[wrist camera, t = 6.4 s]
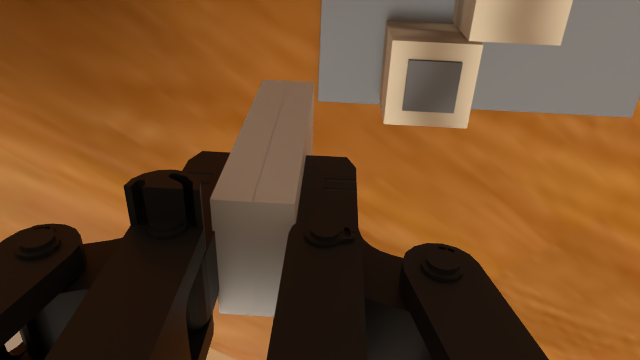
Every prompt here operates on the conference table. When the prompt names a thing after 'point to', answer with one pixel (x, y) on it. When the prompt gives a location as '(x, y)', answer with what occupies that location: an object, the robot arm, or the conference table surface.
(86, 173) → the conference table surface
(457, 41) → the marked block
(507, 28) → the plain block
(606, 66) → the mat
